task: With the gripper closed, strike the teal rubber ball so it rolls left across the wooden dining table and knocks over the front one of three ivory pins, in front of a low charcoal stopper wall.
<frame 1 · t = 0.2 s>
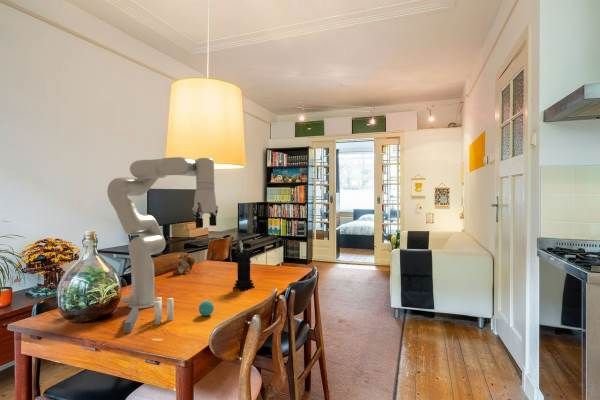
hand: (206, 226, 142), 37 cm above the table, tool pointing down, fingers open, 9 cm apart
front pin: (170, 319, 133), on the table
stuffed squirrel: (185, 272, 215), on the table
back pin right: (157, 323, 129), on the table
back pin left: (158, 318, 134), on the table
chess piece: (244, 288, 178), on the table
ball: (206, 308, 137), on the table
stopper wall: (131, 324, 128), on the table
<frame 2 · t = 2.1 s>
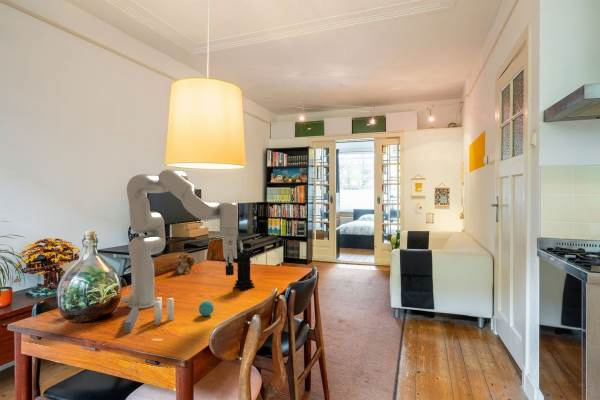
hand: (229, 274, 140), 16 cm above the table, tool pointing down, fingers closed
nothing on the table moved.
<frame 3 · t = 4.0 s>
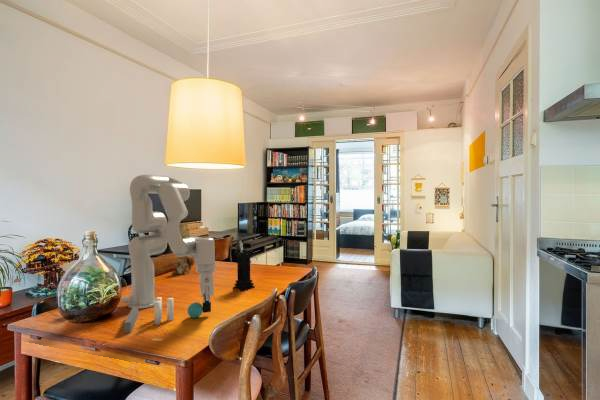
hand: (206, 311, 137), 2 cm above the table, tool pointing down, fingers closed
ball: (195, 309, 135), on the table
everything else where it was.
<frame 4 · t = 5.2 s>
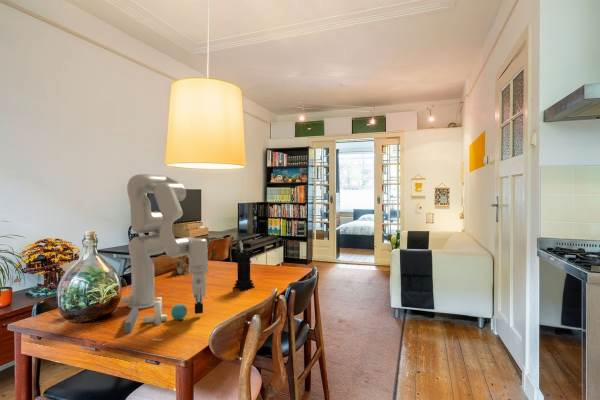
hand: (198, 312, 136), 2 cm above the table, tool pointing down, fingers closed
front pin: (166, 317, 132), point 1 cm above the table, tilted 90°
ball: (179, 311, 133), on the table
everything else where it was.
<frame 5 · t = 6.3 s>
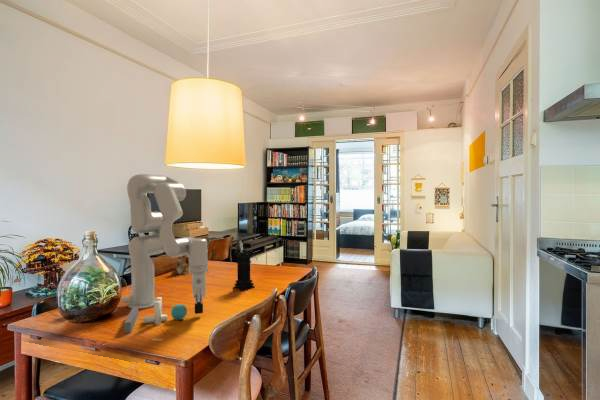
hand: (198, 312, 136), 2 cm above the table, tool pointing down, fingers closed
nothing on the table moved.
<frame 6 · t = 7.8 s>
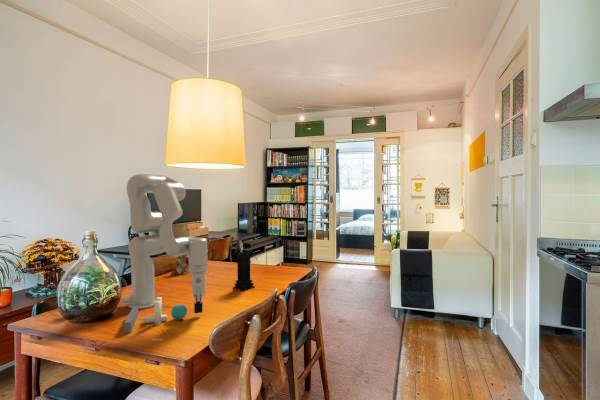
hand: (198, 312, 136), 2 cm above the table, tool pointing down, fingers closed
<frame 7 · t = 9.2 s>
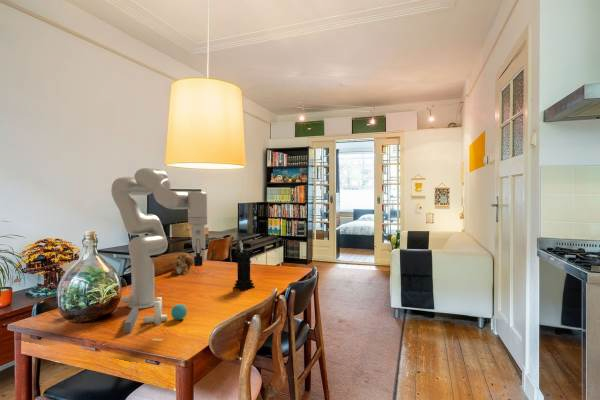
hand: (198, 265, 136), 21 cm above the table, tool pointing down, fingers closed
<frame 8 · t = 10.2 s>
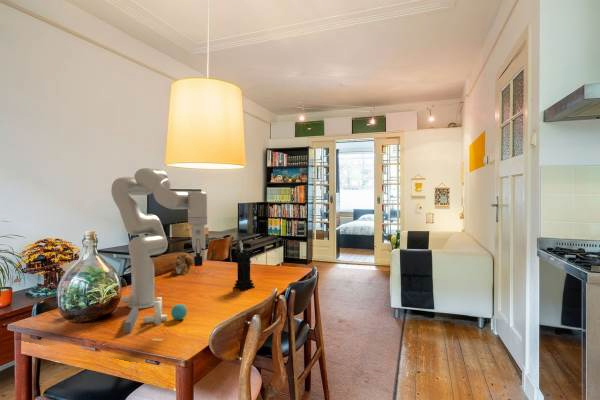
hand: (198, 265, 136), 21 cm above the table, tool pointing down, fingers closed
at the end: front pin tilted 90°; front pin never touched the robot; ball moved 10.7 cm from its start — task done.
